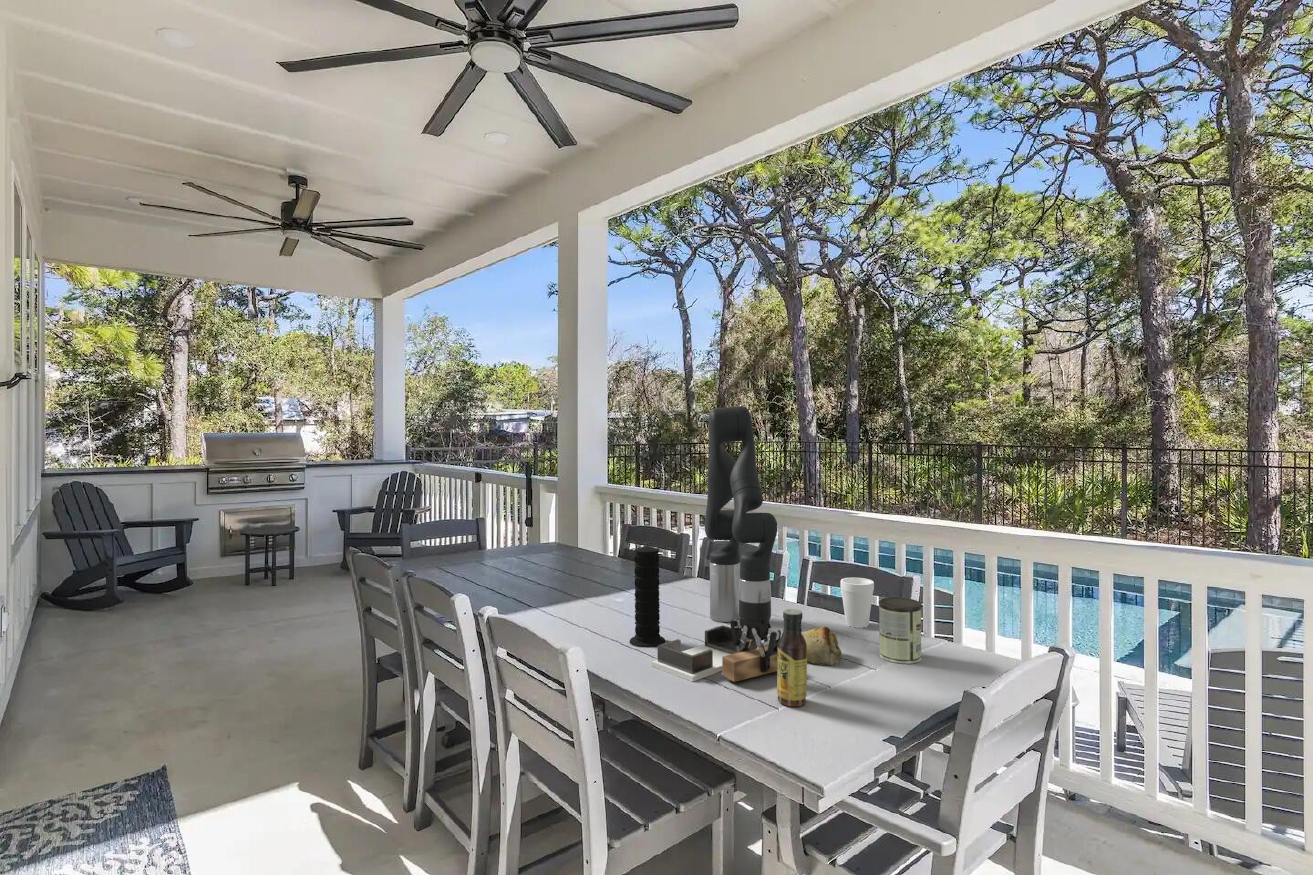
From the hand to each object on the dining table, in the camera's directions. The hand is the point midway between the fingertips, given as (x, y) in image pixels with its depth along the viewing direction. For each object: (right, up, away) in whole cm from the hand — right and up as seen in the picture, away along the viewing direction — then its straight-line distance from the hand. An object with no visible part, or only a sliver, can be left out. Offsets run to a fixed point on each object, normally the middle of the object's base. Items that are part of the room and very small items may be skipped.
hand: (755, 667), depth 163 cm
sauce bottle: (+6, -3, -15) cm, 17 cm away
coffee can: (+39, -2, +12) cm, 41 cm away
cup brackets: (-10, -1, +11) cm, 15 cm away
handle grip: (-26, -2, +26) cm, 37 cm away
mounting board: (-10, -2, +11) cm, 15 cm away
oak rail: (0, -1, 0) cm, 1 cm away
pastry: (+17, -2, +13) cm, 22 cm away
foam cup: (+36, -1, +40) cm, 54 cm away
